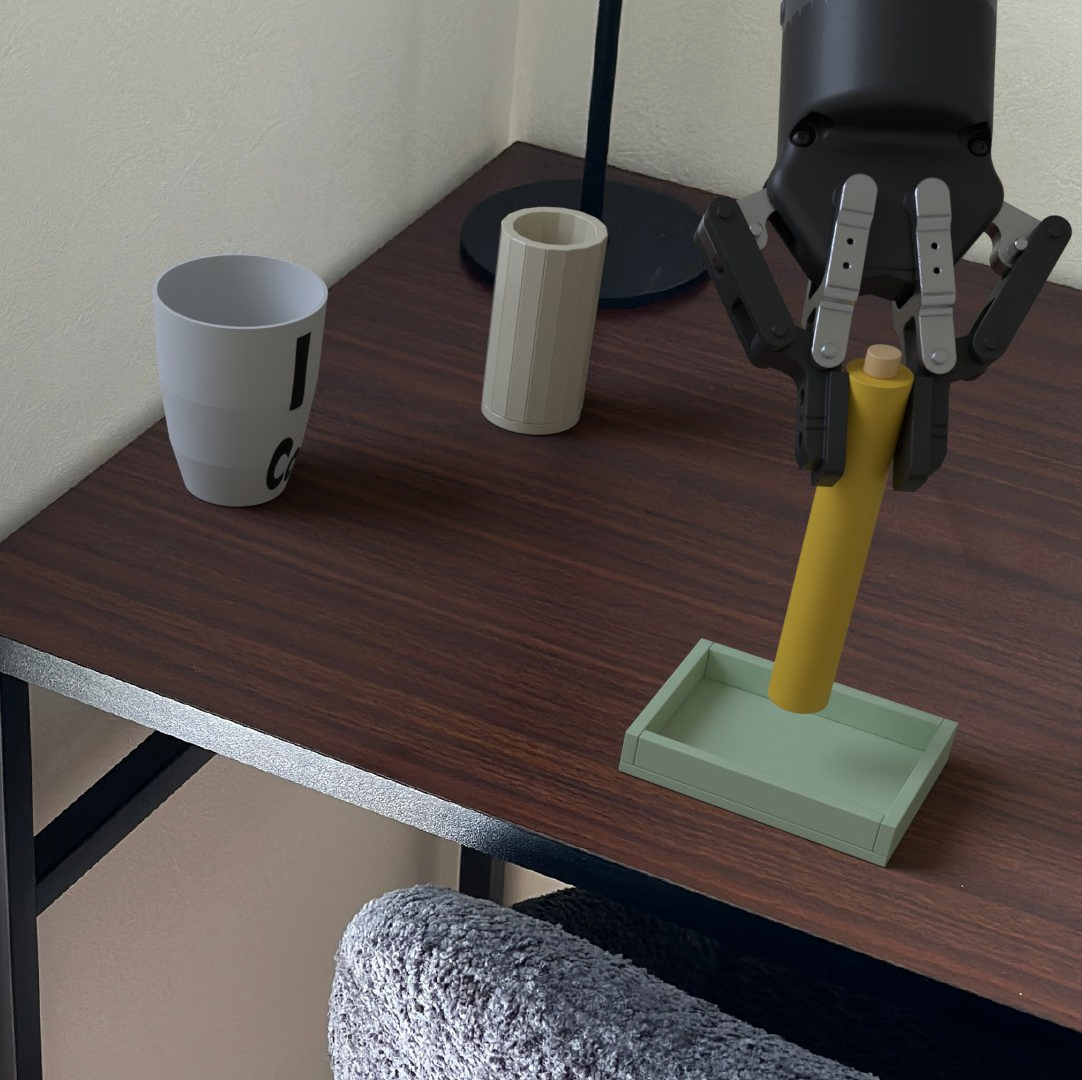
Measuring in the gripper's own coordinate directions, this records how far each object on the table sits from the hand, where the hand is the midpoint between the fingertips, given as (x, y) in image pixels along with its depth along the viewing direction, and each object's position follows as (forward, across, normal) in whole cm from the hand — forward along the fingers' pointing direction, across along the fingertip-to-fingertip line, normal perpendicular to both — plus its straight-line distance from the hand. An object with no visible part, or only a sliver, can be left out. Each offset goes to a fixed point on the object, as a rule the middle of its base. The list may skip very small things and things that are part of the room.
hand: (869, 481), depth 75 cm
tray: (+9, 0, +12) cm, 15 cm away
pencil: (+6, 0, +9) cm, 11 cm away
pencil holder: (-12, -9, +33) cm, 36 cm away
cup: (-6, -24, +27) cm, 36 cm away
